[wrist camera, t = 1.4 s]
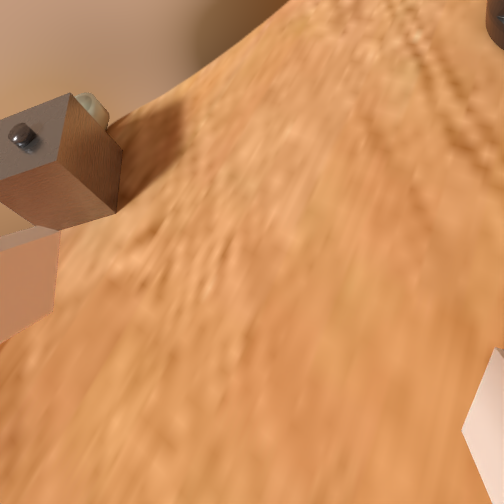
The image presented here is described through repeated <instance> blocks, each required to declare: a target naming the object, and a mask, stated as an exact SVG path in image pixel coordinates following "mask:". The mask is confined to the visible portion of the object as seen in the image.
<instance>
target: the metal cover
mask: <svg viewBox="0 0 504 504" xmlns="http://www.w3.org/2000/svg"><path fill="white" fill-rule="evenodd" d="M122 151H123V150H122V149H121V148H120V147H119V146H118V145H117V144H116V142H115V141H114V140H113V139H112V138H111V137H110V136H109V135H108V134H107V133H106V131H105V130H104V129H103V128H102V127H101V126H100V125H99V124H98V123H97V121H96V120H95V119H94V118H93V117H92V116H91V115H90V114H89V113H88V112H87V110H86V109H85V108H84V107H83V106H82V105H81V104H80V103H79V102H78V101H77V99H76V98H75V97H74V96H73V95H72V94H71V93H68V94H65V95H63V96H60V97H58V98H55V99H53V100H50V101H47V102H45V103H43V104H40V105H37V106H35V107H32V108H30V109H27V110H25V111H22V112H19V113H17V114H14V115H12V116H9V117H7V118H4V119H2V120H0V202H1V203H2V204H4V205H6V206H7V207H8V208H10V209H12V210H13V211H14V212H15V213H17V214H18V215H20V216H21V217H23V218H24V219H26V220H27V221H29V222H30V223H32V224H33V225H35V226H38V225H39V226H42V227H46V228H50V229H54V230H57V231H58V230H62V229H65V228H69V227H72V226H75V225H79V224H82V223H85V222H89V221H92V220H95V219H99V218H102V217H105V216H109V215H112V214H116V207H117V198H118V189H119V179H120V170H121V160H122Z"/></svg>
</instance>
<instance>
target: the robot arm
mask: <svg viewBox="0 0 504 504" xmlns="http://www.w3.org/2000/svg"><path fill="white" fill-rule="evenodd" d="M486 28H487V31H488V33H489V35H490V37H491V39H492V40H493V41H494V42H495V43H496V44H497V45H498V46H499V47H500V48H502V49H503V50H504V0H487V8H486ZM60 234H61V231H57V230H54V229H50V228H46V227H42V226H39V225H38V226H35V227H31V228H28V229H25V230H21V231H18V232H14V233H11V234H8V235H4V236H0V344H1V343H2V342H4V341H6V340H7V339H9V338H11V337H12V336H14V335H15V334H17V333H19V332H20V331H22V330H24V329H25V328H27V327H29V326H30V325H32V324H34V323H35V322H37V321H38V320H40V319H42V318H43V317H45V316H47V315H48V314H50V313H52V312H53V306H54V296H55V285H56V275H57V265H58V254H59V244H60ZM462 433H463V435H464V438H465V440H466V442H467V445H468V447H469V449H470V452H471V454H472V456H473V459H474V461H475V464H476V466H477V468H478V471H479V473H480V475H481V478H482V480H483V483H484V485H485V487H486V490H487V492H488V494H489V497H490V499H491V501H492V504H504V349H500V348H497V347H495V348H494V351H493V353H492V356H491V358H490V361H489V363H488V366H487V368H486V370H485V373H484V375H483V378H482V380H481V383H480V385H479V388H478V390H477V393H476V395H475V398H474V400H473V403H472V405H471V408H470V410H469V413H468V415H467V418H466V420H465V423H464V425H463V428H462Z"/></svg>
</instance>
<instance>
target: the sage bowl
mask: <svg viewBox="0 0 504 504" xmlns="http://www.w3.org/2000/svg"><path fill="white" fill-rule="evenodd" d="M75 98H76V99H77V101H78V102H79V103H80V104H81V105H82V106H83V107H84V108H85V109H86V110H87V112H88V113H89V114H90V115H91V116H92V117H93V118H94V119H95V120H96V121H97V123H98V124H99V125H100V126H101V127H102V128H103V129H104V130H106V128H107V126H108V122H109V113H108V112H107V110H106V109H105V108H104V107H103V106H102V105H101V103H100V102H99V101H98V100H97V99H96V98H95V96H94V95H93V94H91V93H82V94H79V95H77V96H75Z"/></svg>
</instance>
